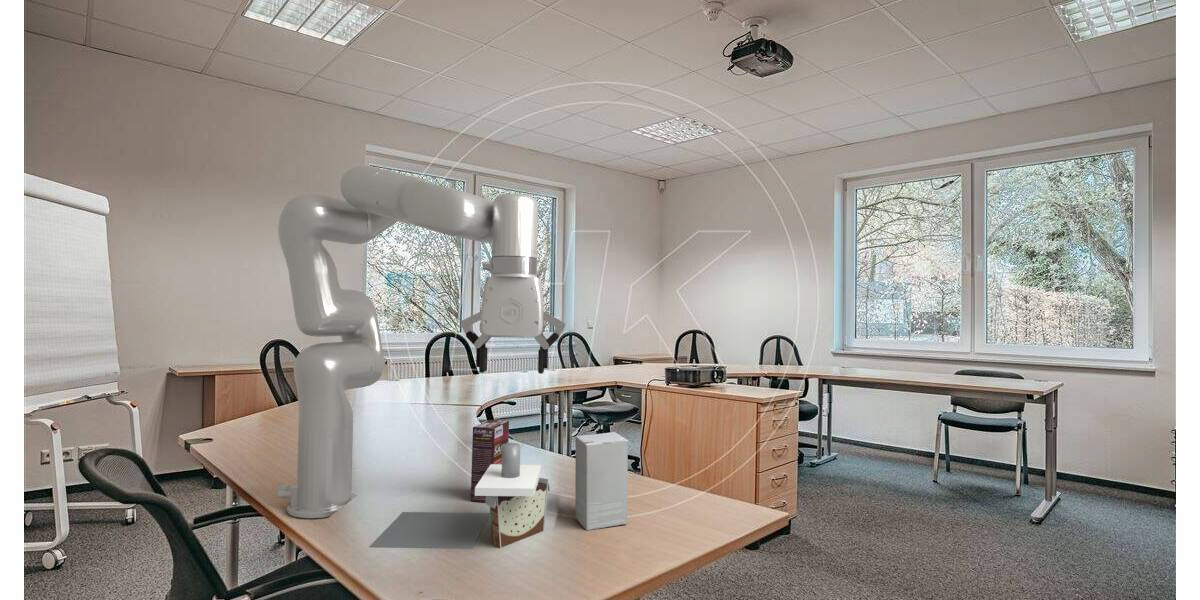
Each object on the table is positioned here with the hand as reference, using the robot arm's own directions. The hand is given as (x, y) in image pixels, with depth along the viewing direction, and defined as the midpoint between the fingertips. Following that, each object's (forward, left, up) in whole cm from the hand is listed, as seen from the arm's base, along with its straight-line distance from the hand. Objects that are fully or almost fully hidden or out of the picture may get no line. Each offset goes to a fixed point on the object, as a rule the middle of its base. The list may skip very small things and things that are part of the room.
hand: (512, 372), depth 98 cm
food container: (0, 0, -28) cm, 28 cm away
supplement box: (-7, +20, -28) cm, 35 cm away
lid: (0, 0, -18) cm, 18 cm away
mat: (-13, +2, -28) cm, 31 cm away
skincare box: (+15, +10, -28) cm, 34 cm away
